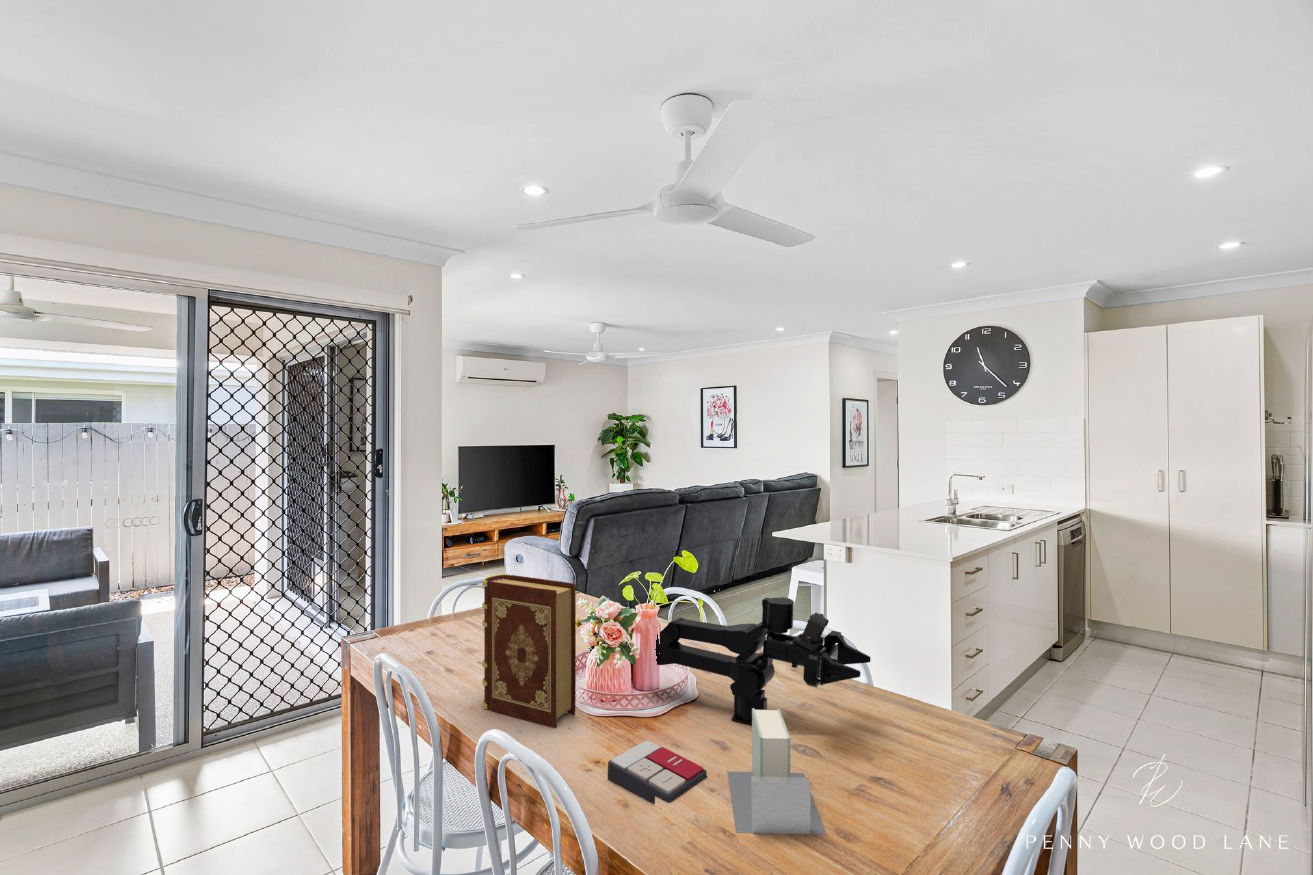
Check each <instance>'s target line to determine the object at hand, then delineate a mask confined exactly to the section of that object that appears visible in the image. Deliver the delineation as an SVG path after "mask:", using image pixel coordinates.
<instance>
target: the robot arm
mask: <svg viewBox="0 0 1313 875" xmlns="http://www.w3.org/2000/svg"><path fill="white" fill-rule="evenodd" d="M761 606H762V616H761V617H762V619H761V621H760V622H759V623H758V624H757V623H738V624H732V625H725V624H724V625H723V624H717V623H712V622H711V623H710V622H704V621H698V620H691V619H686V618H684V617H678V618H675V619H673V620H671V621H670V622H668V623H667V625H666V626H665V627H664V628H663V629H662V630H661V631H659V632H660V644H659V639H658V633H657V634H656V635H657V640H656V649H655V650H656V656H657V659H656V661H657V665H656V666H666V665H673V664H674V665H679V666H684V667H687V668H691V669H695V670H700V671H704V672H707V673H711V674H716V675H719V676H723V677H726V678H727V677H728V678H730V679H731V680H732V681H733V682H732V683H731V684H730V685H729V686H730V687H729V689H730V691H731V694H732V696H733V715H732V716H731V718H730V720H731V721H734V722H738V723H743V724H746V725H750V726H752V708H754V709H755V710H768V698H767V697H766V690H765V689H764V687H766V686H767V685H768V683H769V682H770V681H771V680H772V679H773V678H774V676H775V671H776V670H775V666H774V664H773V662H774V660H776V661H779V662H783V663H787V664H791V668H794V669H797V668H798V667H799V666H800V667H803V681H804V683H805V684H806V685H807V686H810V687H812V688H813V687H814V688H817V687H818V686H824V685H827V684H832V683H836V682H840V681H842V682H843V681H846V680H851V679H857V678H860V677H861V674H862V672H861V670H859V669H856V668H854V667H852V666H848V665H855V664H866V663H870V662H871V656H870V655H867V654H866V653H864V652H862V651H860V650H858V649H856V648H854V647H853V646H851V645H849V644H848V643H847V642H846V640H845V637H844V636H843V635H842V632H841V631H837V630H831V631H830V632H828V634H827V635H825V637H823V636H822V635H823V633H824V631H825V629H826V627H827V626H828V624H829V621H830V619H827V618H826V617H825V614H823V613H818V612H814V613H812V614H810V615H809V619H808V620H807V624H806V625H805V628H804V630H803V632H802V633H800V634H798V636H796V635H791V634H787V633H788V632H789V630H791V629H793V626H794V610H795V608H794V607H795V601H794V600H793V599H791V598H788V597H784V596H782V597H764V598H763V599H762V601H761ZM680 639H683V640H689V641H695V642H701V643H705V644H706V643H707V644H711V645H716V646H721V647H724V648H726V649H727V650H729V651H730V652H731V653H734V654H736V655H737V656H733V655H728V654H725V653H720V652H715V651H711V650H707V649H703V648H698V647H693V646H690V645H685V644H682V643H681V642H680V641H679V640H680ZM761 648H762V652H758V651H759V650H760V649H761ZM659 653H660V654H659Z"/></svg>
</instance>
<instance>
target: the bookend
mask: <svg viewBox="0 0 1313 875" xmlns="http://www.w3.org/2000/svg"><path fill="white" fill-rule="evenodd" d="M810 792H811V781H810V778H809V777H806V776H805V777H754V776H751V829H752V833H751V834H765V833H780V834H779V835H810Z"/></svg>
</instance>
